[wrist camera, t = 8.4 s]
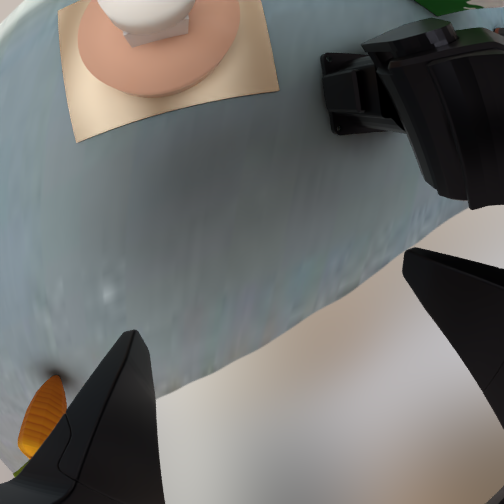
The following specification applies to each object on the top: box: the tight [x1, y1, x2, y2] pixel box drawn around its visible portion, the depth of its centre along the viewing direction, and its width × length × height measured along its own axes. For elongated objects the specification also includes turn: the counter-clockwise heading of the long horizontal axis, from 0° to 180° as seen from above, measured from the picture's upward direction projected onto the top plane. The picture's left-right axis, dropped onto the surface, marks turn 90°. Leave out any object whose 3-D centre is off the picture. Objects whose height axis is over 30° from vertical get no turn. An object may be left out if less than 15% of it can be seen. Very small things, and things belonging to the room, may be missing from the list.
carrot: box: [13, 375, 67, 477], centre depth 17 cm, size 5×5×15 cm
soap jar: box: [78, 0, 240, 98], centre depth 11 cm, size 9×9×6 cm
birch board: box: [58, 0, 279, 143], centre depth 13 cm, size 14×11×1 cm
